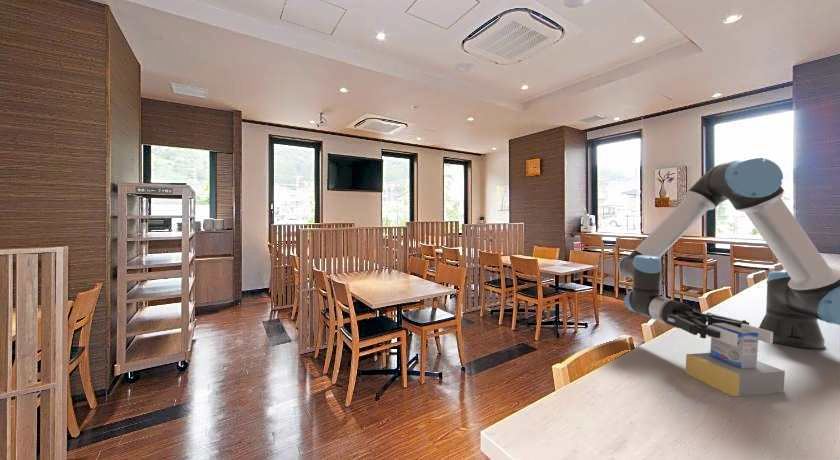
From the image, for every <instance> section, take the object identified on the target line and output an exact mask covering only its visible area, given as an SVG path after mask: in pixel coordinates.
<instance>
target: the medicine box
mask: <svg viewBox="0 0 840 460" xmlns="http://www.w3.org/2000/svg"><path fill="white" fill-rule="evenodd" d="M712 326H714V327H717V328H720V329H723V330H726V331H730V332H733V333H736V334H738V339H737V346H734V345H731V344H728V343H725V342H723V341H720V340H717V339H714V338H711V337H710V349H709V350H710V351H709V353H710V355H711V357H714V358H716V359H719V360H721V361H724V362H726V363H729V364H731V365H733V366H736V367H738V368H741V369H748V368H756V367H757V361H758V351H759V349H758V348H759V340H758V333H755V332H752V331H749V330H746V329H743V328H739V327H736V326H733V325H730V324H726V323H713V324H712Z"/></svg>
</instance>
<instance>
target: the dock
mask: <svg viewBox="0 0 840 460" xmlns="http://www.w3.org/2000/svg"><path fill="white" fill-rule="evenodd" d="M785 372H786V371H785V370H783V369H780V368H777V367H776V366H775V367H774V366H772V365H769V364H767V363H764V362H761V361H760V360H757V367H756V368H748V369H741V368H738V367H736V366H733V365H731V364H729V363H726V362H724V361H721V360H719V359H716V358H714V357H711V355H710V352H705V353H704V352H702V353H700V352H699V353H686V355H685V374H687V375H689V376H691V377H693V378H695V379H696V380H699V381H701V382H702V383H705V384H707V385H709V386H711V387H712V388H715V389H716V390H719V391H721V392H723V393H726V394H727V395H729V396H731V397H741V396H742V397H743V396H754V395H763V394H764V395H765V394H766V395H767V394H776V393H777V394H778V393H784V392H785V377H786V376H785V374H786V373H785Z"/></svg>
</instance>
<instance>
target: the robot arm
mask: <svg viewBox="0 0 840 460" xmlns="http://www.w3.org/2000/svg"><path fill="white" fill-rule="evenodd" d="M783 179H784V174H783V171H782V169H781V167H780V166H779V165H778V164H777V163H776V162H775V161H772V159H771V160H770V159H768V158H764V157H758V156H757V157H744V158H740V159H736V160H734V161H729V162H725V163H724V162H723V163H720V164H717V165H715V166H714V167H712V168H710V169H709V170H708V171H707V172H705V173H704V174H703V175H702V176H701V177H700V178H699V179H698V180H697V181H696V182H695V183H694V184H693V185H692V186H691V187H690V188H689V189H688V190H687V191H686V192H685V198H684V199H683V200H682V201H680V203H679V204H678V205H677V206H676V207H674V209H673V210H672V211H671V212H670V213H669V214H668V215H667V216H666V217H665V218H664V220H662V221H661V222H660V223H659V224H658V226H657V227H656V228H654V230H652V232H650V234H649V235H647V237H646V238H645V239H644V240H643V241H641V243H639V245H638V246H637V247H636V248H635V249H634V250H633V251H632V252H630V253H629V254H628V255H626V256H623V257H621V258H620V259H619V261H618V263H617V269H618V271H619V272H620V273H621V274H622V275H623V276H624V277H626V278H629V279H631V280H632V289H630V290H629V291H628V292H626V295H625V296H624V304H625V307H626V308H627V309H628V310H629V311H631V312H634V313H635V314H637V315H640V316H644V317H646V318H650V319H652V320H655V321H658V322H660V324H662V325H664V324H666V325H668V326H671V327H673V328H676V329H681V330H682V331H685V332H687V333H689V334H691V335H693V336H698V334H699V338H701V339H707V337H708V338H710V339H711V338H714V339H717V340H720V341H723V342H725V343H728V344H731V345H734V346H737V339H738V334H736V333H733V332H730V331H726V330H723V329H720V328H717V327H714V326H712V324H713V323H726V324H730V325H733V326H736V327H739V328H743V329H746V330H749V331H752V332H755V333H758V341H761V342H764V343H767V344H773V343H775V344H776V343H777V344H780V345H784V346H788V347H789V346H790V347H796V348H802V349H803V348H804V349H823V348H825V342H826V340H825V337H824V336H823V332H822V330H821V327H820V325H819V323H818V320H820V321H823V322H825V323H828V324H834V325H838V326H840V270H839V269H837V268H832V267H830V265H829V264H828V263H827V261H826V260H825V259H824V257H823V255H822V254H821V253H820V252H819V250H818V249H817V247H816V246H815V244H814V243H813V242H812V240H811V238H810V237H809V236H808V235H807V233H806V232H805V230H804V229H803V228H802V226H801V225H800V223H799V222H798V220H797V219H796V217H795V216H794V215H793V213H792V212H791V210H790V209H789V207H788V206H787V205H786V204H785V202H784V200H783V199H782V197H783V194H784V193H785V190H784V188H783V187H782V184H783ZM727 200H728V201H729V202H730V203H731V205H732V206H733V208H734V209H735V211H739V212H742V213H743V212H744V213H745V214H746V216H747V218H749V220H750V221H751V223H752V224H753V226H754V227H755V228H756V230H757V232H758V233H759V234H760V236H761V237H762V239H763V240H764V241H765V243H766V244H767V247H769V248H770V250H771V252H772V253H773V255H774V256H775V257H776V259H777V260H778V262H779V263H780V264H781V266H782V267H783V269H784V271H782V270H781V271H773V270H772V271H770V272H769V273H768V274H767V280H766V306H765V307H766V309H765V315H764V316H763V318H762V321H761V323H760V324H759V327H757V326H753V325H750V322H748V321H747V320H746V319H743V320H739V319H737V318H731V317H727V316H723V315H722V316H721V315H718V314H715V313H712V312H706V313H702V312H701V311H697V310H693V308H692V306H690V305H689V304H688V303H686V302H682V301H679V300H674V299H672V298H668V297H665V296H661V277H662V275H661V274H662V262H661V257H662V256H663V255H664V254H665V253H666V252H667V251H668V250H669V249H670V248H672V246H673V245H674V244H675V243H676V242H677V241H678V240H680V238H682V236H683V235H685V234H686V233H687V231H688V230H690V229H691V228H692V227H693V225H695V224H696V223H697V222H698V221H699V220H700V219H701V218H702V217H703V216H704V215H705V214H706V213H707V212H708V211H713V210H715V209H716V208H717V207H718V206H719V205H720V204H721V203H723V202H725V201H727Z"/></svg>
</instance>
